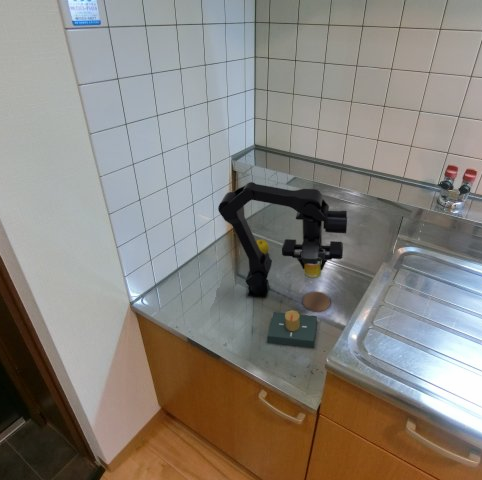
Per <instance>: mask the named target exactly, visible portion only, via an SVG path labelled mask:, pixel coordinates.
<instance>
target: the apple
mask: <svg viewBox="0 0 482 480" xmlns="http://www.w3.org/2000/svg"><path fill="white" fill-rule="evenodd" d="M256 243H257V245H258V247H259V249H260V251H261V252H262V253H264V254H266V253H268V254H269V251H270V245H269V243H268V242H267V241H266V240H265V239H262V238H260V239H257V240H256Z"/></svg>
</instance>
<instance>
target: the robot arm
mask: <svg viewBox="0 0 482 480" xmlns="http://www.w3.org/2000/svg"><path fill="white" fill-rule="evenodd" d="M323 197H324V196H323V194H322V192H320V190H318V189H316V188H300V189H295V190H294V189H293V190H292V189H286V188H281V187H274V186H270V185H264V184H258V183H255V182H253V181H250V182H247V183H246V184H245V185H243V186H240V187H238V188H236V189H234V190H233V191H228V192H227V193H226V194H224V196H223V198H222V199H221V202H220V203H219V204H218V207H217V210H218V213H219V215H220V216H221V217H222V218H223V220H224V221H225V222H226V223H228V224H230V225H231V227H232V229H233V231H234V232H235V235H236V236H237V238H238V240H239V242H240V245H241V247H242V249H243V251H244V253H245V255H246V257H247V259H248V269H249V271H248V273H247V275H246V278H245V283H246V285H247V288H248V293H247V296H248V297H255V298H266V297H267V294H268V292H269V290H270V283H269V279H268V277H269V273H270V271H271V267H272V263H273V260H272V259H271V258H270V254H269V252H268V253H266V254H264V253H262V252H261V251H260V249H259V247H258V245H257V243H256V241H257V240H256V239H255V237H254V234H253V232H252V229H251V227H250V225H249V223H248V221H247V219H246V215H245V205H247V204H248V203H249V202H250V201H257V202H261V203H267V204H272V205H278V206H284V207H287V208H291V209H293V210H294V211H296V215H295V220H298V221H302V243H301V244H300V243H299V244H298V243H297V239H288V238H286V239H284V240H283V243H282V247H281V256H283V257H292V258H293V259H297V260H298V262H299V264H300V266H301V268H302V269H303V270H304V264H318V262H319V261H321V271H323V270H324V267H325V266H326V263H327V262H328V261H332V260H342V259H343V253H344V242H342V241H337V240H336V241H332V240H330V241H329V243H325V244H322V243H323V242H322V241H323V237H322V236H323V231H322V229H323V230H325V231H324V232H325V233H329V234H330V233H331V234H347V231H348V230H347V229H348V211H347V210H330V205H329V204H328V203H327V202H326V200H324V198H323ZM322 223H323V224H322ZM322 226H323V227H322Z"/></svg>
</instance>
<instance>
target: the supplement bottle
mask: <svg viewBox="0 0 482 480" xmlns="http://www.w3.org/2000/svg"><path fill="white" fill-rule="evenodd" d="M321 262H322V261H319V262H318V264H304V269H303V270H304V276H305V278H306V279H309V280H313V281H314V280H318V279H319V278H321V276H322V270H321Z"/></svg>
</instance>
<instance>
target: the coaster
mask: <svg viewBox="0 0 482 480" xmlns="http://www.w3.org/2000/svg"><path fill="white" fill-rule="evenodd" d="M330 303H331V301H330V298H329V296H328V295H326V294H325V293H323V292H320V291H311V292H309V293H307V294H306V295H304V297H303V298H302V305H303V306H304V308H305V309H307V310H308V311H311V312H314V313H316V312H317V313H319V312H323V311H325V310H327V309H328V308H329V307H330Z"/></svg>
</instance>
